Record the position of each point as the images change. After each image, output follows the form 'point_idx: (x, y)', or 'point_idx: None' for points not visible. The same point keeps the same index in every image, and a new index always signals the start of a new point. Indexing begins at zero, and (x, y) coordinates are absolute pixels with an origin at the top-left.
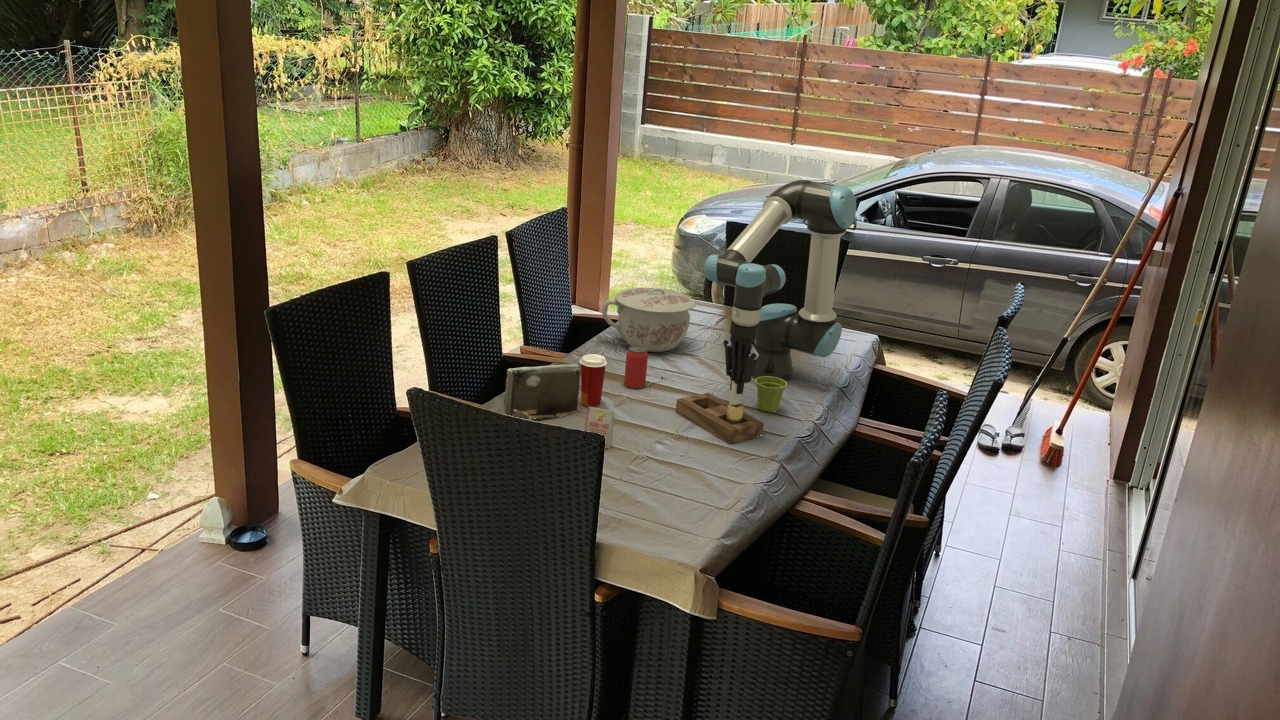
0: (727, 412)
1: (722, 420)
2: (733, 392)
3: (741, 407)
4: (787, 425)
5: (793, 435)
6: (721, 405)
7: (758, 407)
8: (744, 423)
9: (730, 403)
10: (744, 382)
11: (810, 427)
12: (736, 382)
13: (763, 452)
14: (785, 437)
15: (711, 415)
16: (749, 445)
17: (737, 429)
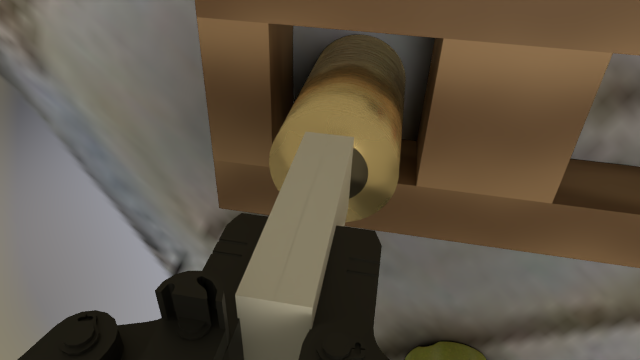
0: (367, 92)
1: (364, 19)
2: (293, 203)
3: (278, 175)
4: None
5: (201, 264)
6: (551, 201)
7: (471, 351)
8: (255, 116)
9: (341, 136)
10: (59, 333)
11: None
12: (173, 289)
13: (82, 30)
14: (196, 230)
15: (485, 11)
16: (175, 28)
17: (196, 4)
